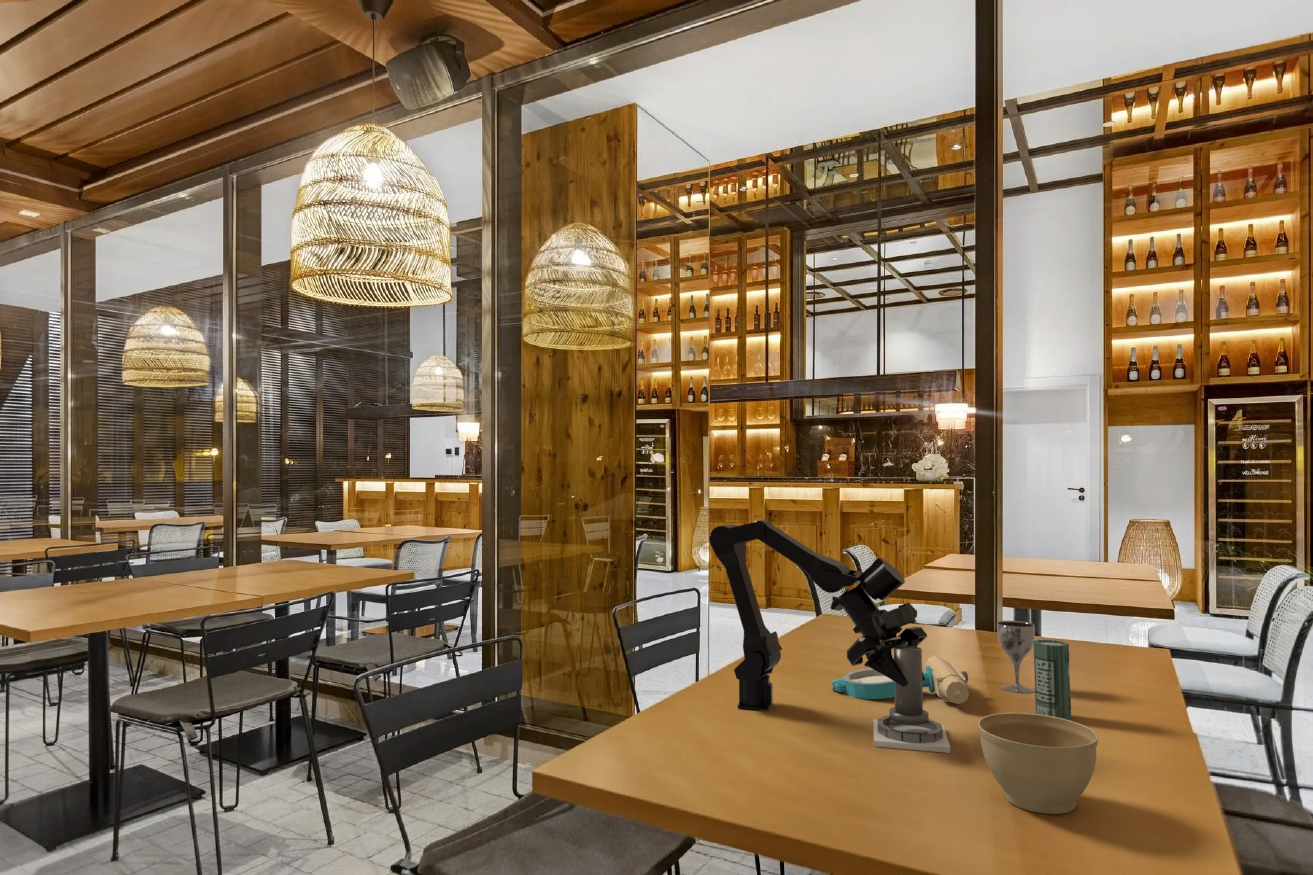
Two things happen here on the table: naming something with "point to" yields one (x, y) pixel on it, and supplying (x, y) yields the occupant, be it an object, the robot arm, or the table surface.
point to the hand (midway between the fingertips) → (914, 683)
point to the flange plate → (910, 735)
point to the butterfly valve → (879, 686)
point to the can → (1052, 678)
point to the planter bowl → (1039, 759)
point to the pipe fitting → (909, 687)
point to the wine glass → (1016, 647)
